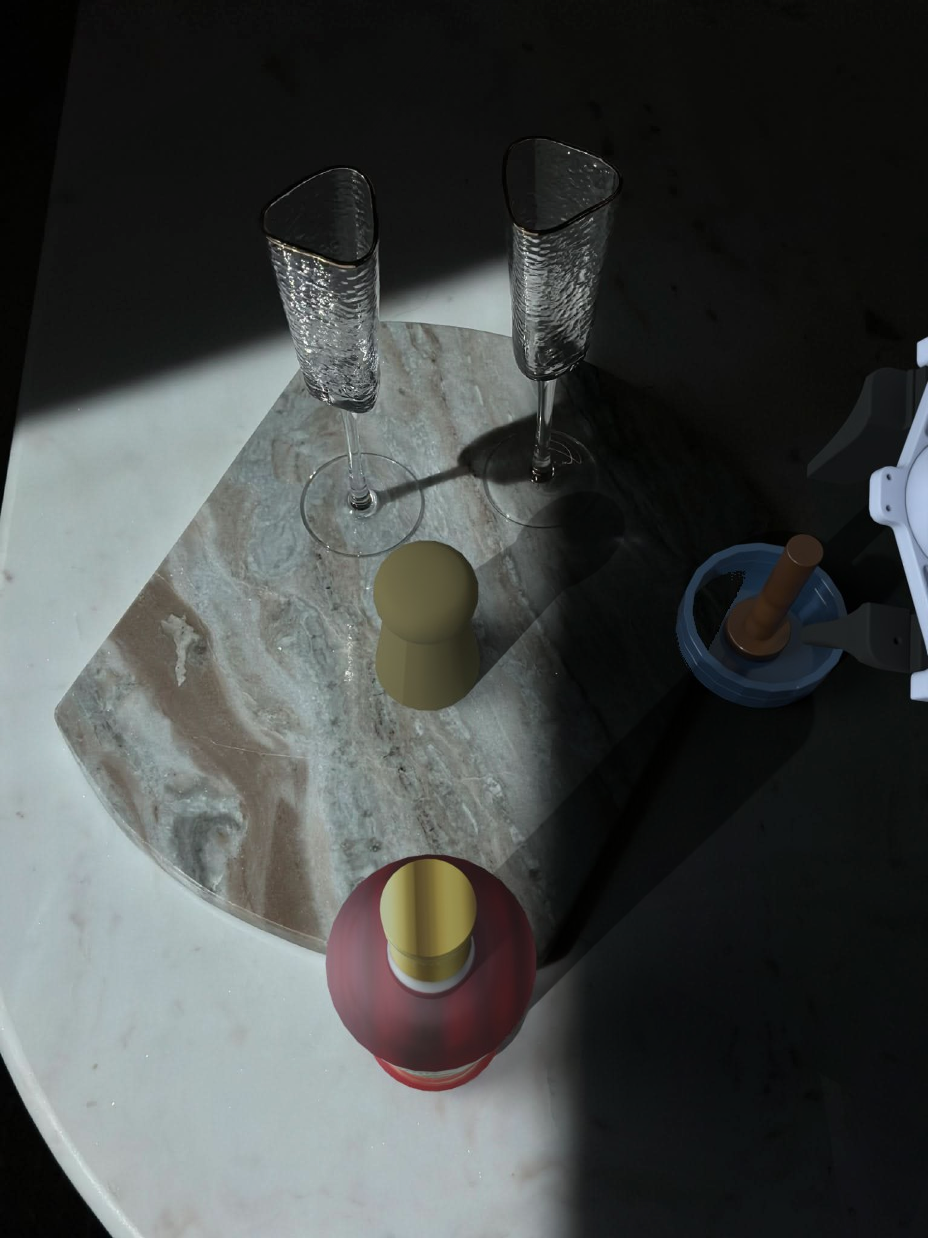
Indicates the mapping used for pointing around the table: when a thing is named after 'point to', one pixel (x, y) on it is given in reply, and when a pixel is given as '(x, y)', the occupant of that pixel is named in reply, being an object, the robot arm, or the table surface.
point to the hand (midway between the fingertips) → (823, 555)
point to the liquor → (431, 968)
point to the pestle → (773, 603)
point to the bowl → (797, 661)
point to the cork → (426, 625)
